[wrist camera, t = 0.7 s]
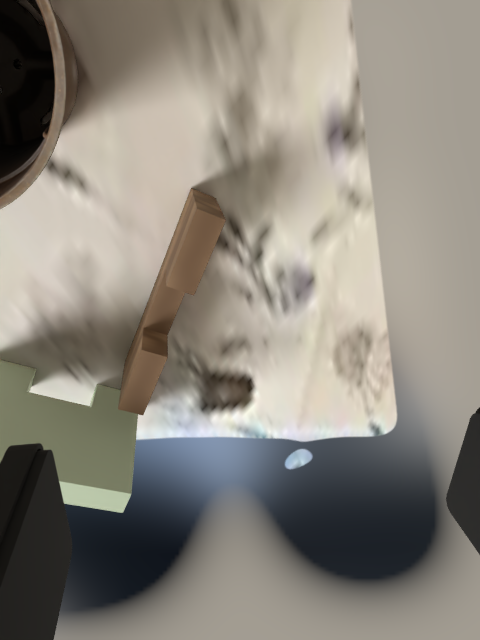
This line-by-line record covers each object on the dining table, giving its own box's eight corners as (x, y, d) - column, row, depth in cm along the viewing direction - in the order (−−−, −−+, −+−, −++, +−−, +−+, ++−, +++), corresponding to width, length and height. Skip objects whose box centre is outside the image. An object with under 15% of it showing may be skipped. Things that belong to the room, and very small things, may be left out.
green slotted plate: (-17, 375, 46) (-84, 479, 33) (-13, 356, 45) (-80, 456, 33) (132, 410, 51) (122, 512, 38) (139, 394, 50) (131, 494, 38)
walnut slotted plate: (124, 362, 48) (117, 409, 41) (191, 187, 40) (197, 208, 33) (146, 368, 48) (143, 415, 41) (215, 198, 41) (225, 220, 34)
